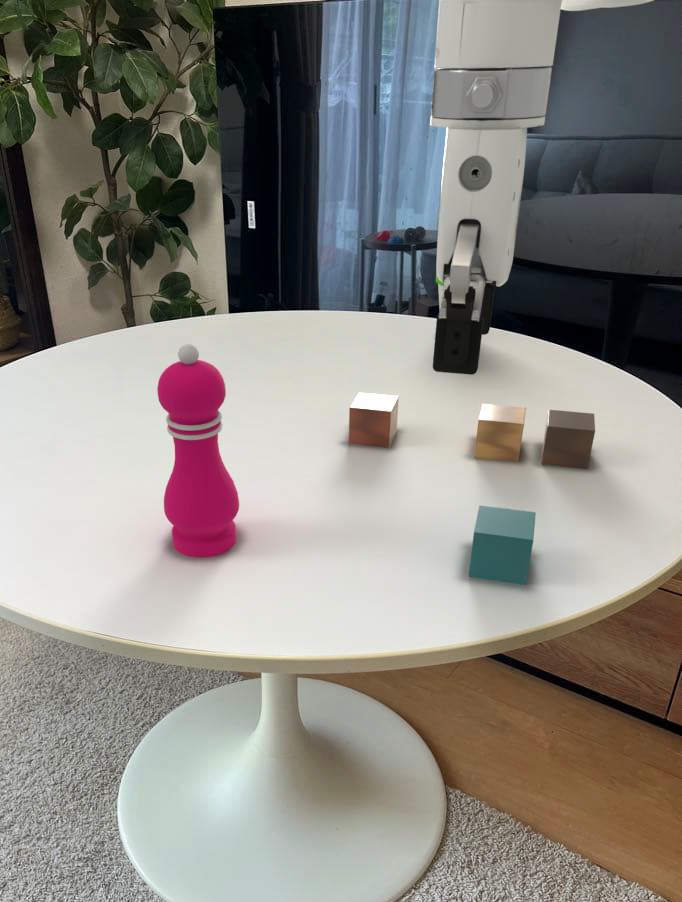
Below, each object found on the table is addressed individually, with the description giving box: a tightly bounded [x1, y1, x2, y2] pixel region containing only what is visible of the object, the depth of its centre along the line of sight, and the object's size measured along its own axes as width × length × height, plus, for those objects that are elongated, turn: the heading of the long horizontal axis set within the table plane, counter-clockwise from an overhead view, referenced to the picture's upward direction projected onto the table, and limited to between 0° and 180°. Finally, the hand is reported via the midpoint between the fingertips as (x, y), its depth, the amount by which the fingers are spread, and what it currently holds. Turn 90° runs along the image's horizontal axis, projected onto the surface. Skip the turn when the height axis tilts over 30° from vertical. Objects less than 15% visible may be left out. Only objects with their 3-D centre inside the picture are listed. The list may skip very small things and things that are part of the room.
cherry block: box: [348, 392, 400, 449], centre depth 96 cm, size 5×5×5 cm
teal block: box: [468, 505, 536, 586], centre depth 71 cm, size 5×5×5 cm
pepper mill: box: [156, 343, 240, 558], centre depth 73 cm, size 7×7×20 cm
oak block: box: [473, 403, 527, 463], centre depth 92 cm, size 5×5×5 cm
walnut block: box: [540, 409, 596, 470], centre depth 90 cm, size 5×5×5 cm
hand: (462, 351), depth 61 cm, fingers open, 9 cm apart
